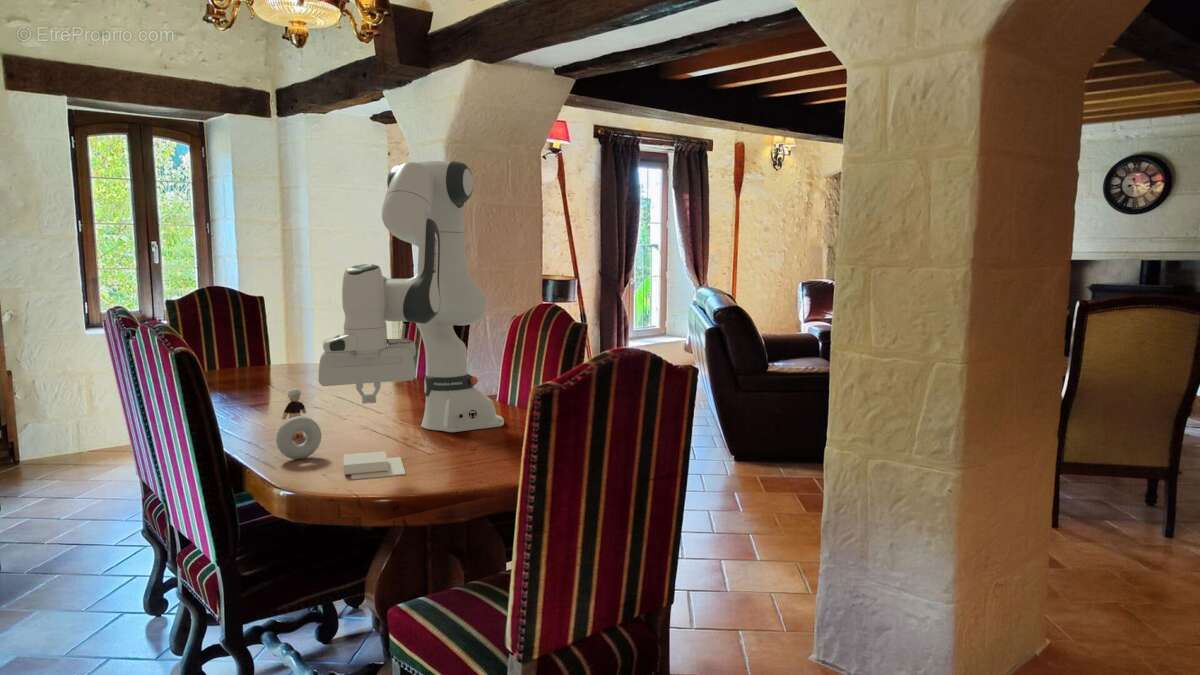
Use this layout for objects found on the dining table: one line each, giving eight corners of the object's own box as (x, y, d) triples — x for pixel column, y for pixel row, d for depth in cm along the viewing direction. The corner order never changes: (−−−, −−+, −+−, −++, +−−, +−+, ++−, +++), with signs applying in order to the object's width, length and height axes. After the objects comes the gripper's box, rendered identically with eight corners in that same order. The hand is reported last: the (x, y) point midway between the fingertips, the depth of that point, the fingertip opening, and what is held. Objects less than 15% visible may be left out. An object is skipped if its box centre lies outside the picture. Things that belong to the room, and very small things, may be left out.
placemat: (400, 458, 174) (400, 456, 174) (405, 474, 161) (405, 473, 161) (350, 462, 171) (350, 461, 171) (351, 479, 158) (351, 478, 158)
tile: (343, 464, 168) (385, 461, 171) (344, 475, 159) (388, 471, 162) (343, 454, 168) (385, 451, 171) (343, 465, 159) (387, 461, 162)
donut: (319, 453, 178) (317, 412, 177) (324, 456, 176) (322, 414, 174) (275, 461, 172) (273, 418, 171) (279, 464, 169) (277, 420, 168)
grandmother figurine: (294, 440, 192) (292, 391, 190) (280, 439, 192) (278, 390, 191) (311, 433, 199) (309, 385, 198) (298, 432, 200) (296, 385, 198)
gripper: (413, 336, 169) (416, 396, 171) (316, 341, 162) (320, 403, 164) (416, 339, 163) (419, 402, 165) (315, 344, 156) (319, 409, 158)
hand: (369, 403), depth 164 cm, fingers closed
